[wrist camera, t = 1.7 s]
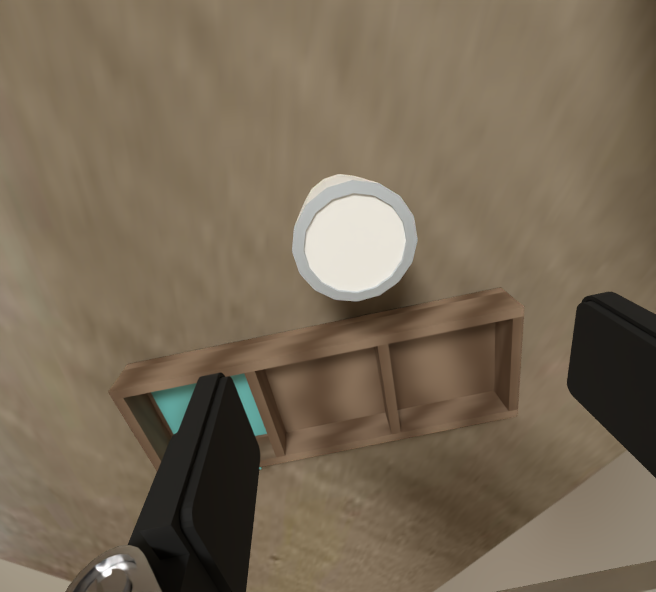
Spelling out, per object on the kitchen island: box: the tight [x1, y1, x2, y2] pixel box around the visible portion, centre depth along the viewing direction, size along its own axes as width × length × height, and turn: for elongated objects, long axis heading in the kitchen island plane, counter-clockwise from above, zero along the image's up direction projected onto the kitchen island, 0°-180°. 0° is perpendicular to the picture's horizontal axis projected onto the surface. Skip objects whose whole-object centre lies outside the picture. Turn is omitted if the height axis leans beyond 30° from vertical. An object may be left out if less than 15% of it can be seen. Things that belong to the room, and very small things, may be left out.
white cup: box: [292, 174, 418, 301], centre depth 22 cm, size 7×7×7 cm
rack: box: [108, 287, 524, 471], centre depth 30 cm, size 31×12×3 cm, turn 101°
